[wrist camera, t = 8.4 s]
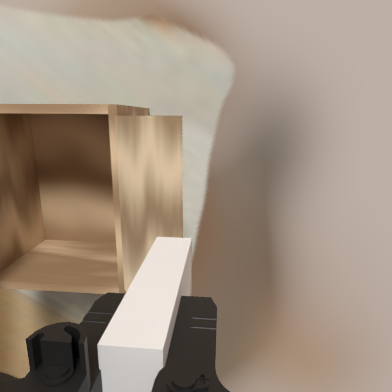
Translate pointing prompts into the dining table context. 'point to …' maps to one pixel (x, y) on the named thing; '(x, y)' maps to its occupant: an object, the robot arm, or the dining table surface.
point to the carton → (61, 197)
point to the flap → (148, 185)
